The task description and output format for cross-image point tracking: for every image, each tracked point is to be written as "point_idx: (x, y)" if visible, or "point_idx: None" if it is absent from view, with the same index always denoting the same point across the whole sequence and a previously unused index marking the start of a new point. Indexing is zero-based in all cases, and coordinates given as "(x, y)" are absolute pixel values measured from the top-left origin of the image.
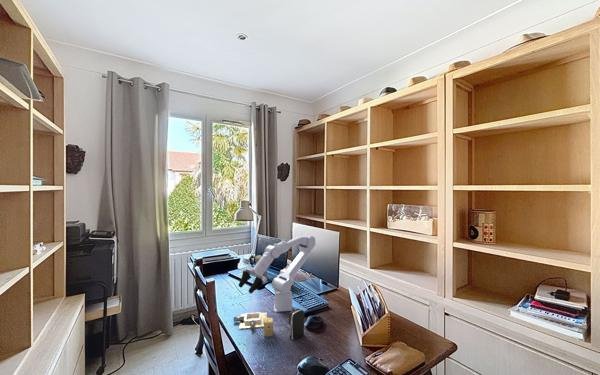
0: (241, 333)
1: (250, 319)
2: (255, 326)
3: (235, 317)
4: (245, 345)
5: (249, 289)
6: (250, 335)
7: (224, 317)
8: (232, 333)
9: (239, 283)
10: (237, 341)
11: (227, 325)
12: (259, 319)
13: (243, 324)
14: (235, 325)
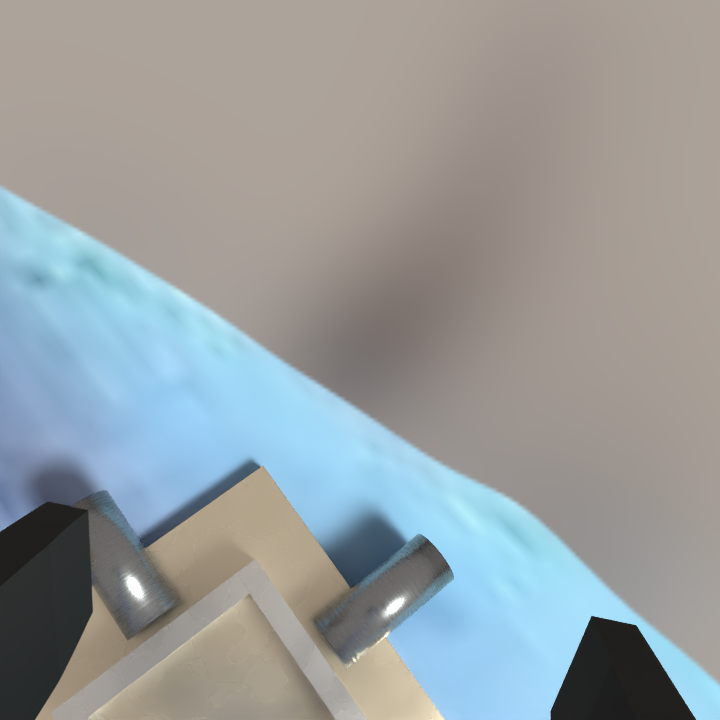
0: (188, 415)
1: (263, 714)
2: (92, 594)
3: (420, 563)
4: (15, 265)
5: (38, 536)
6: (64, 428)
7: (616, 603)
8: (281, 373)
9: (644, 667)
10: (136, 285)
11: (446, 474)
12: (76, 712)
13: (270, 558)
14: (363, 518)
